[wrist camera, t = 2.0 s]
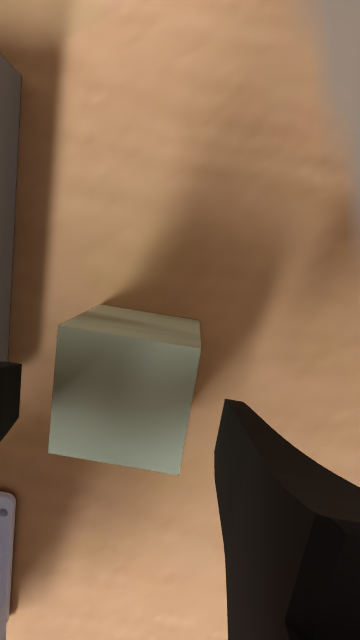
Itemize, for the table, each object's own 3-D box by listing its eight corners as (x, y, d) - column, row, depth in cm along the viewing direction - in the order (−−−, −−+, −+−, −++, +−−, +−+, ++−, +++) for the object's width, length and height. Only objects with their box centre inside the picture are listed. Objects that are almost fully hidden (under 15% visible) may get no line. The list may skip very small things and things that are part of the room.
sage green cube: (183, 411, 17) (178, 475, 12) (90, 395, 17) (47, 453, 12) (199, 320, 16) (201, 348, 11) (100, 304, 16) (58, 325, 11)
